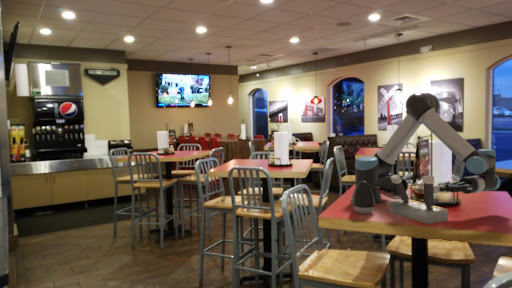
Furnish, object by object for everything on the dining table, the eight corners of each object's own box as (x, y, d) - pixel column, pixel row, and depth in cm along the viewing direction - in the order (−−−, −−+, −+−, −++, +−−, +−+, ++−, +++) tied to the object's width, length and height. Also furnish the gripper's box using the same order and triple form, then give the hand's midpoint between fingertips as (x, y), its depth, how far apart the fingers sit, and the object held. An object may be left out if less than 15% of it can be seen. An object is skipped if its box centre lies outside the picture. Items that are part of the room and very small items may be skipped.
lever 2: (424, 208, 170) (422, 176, 169) (428, 207, 171) (427, 175, 170) (430, 209, 167) (429, 177, 166) (435, 208, 168) (433, 176, 166)
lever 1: (401, 202, 183) (390, 177, 180) (405, 199, 184) (394, 174, 181) (407, 204, 180) (395, 178, 177) (411, 201, 181) (399, 175, 177)
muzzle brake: (392, 196, 219) (392, 178, 218) (371, 187, 247) (371, 171, 246) (408, 195, 220) (408, 177, 220) (385, 186, 248) (385, 170, 247)
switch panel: (389, 212, 184) (389, 201, 184) (408, 209, 189) (408, 198, 188) (426, 224, 163) (427, 211, 163) (448, 220, 167) (448, 208, 167)
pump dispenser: (371, 216, 177) (371, 183, 176) (349, 213, 183) (349, 181, 182) (377, 211, 186) (378, 180, 185) (356, 209, 191) (356, 178, 190)
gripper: (484, 195, 171) (445, 201, 162) (458, 190, 183) (420, 195, 174) (484, 178, 171) (445, 183, 162) (458, 174, 183) (420, 178, 174)
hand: (432, 189), depth 168 cm, fingers closed
